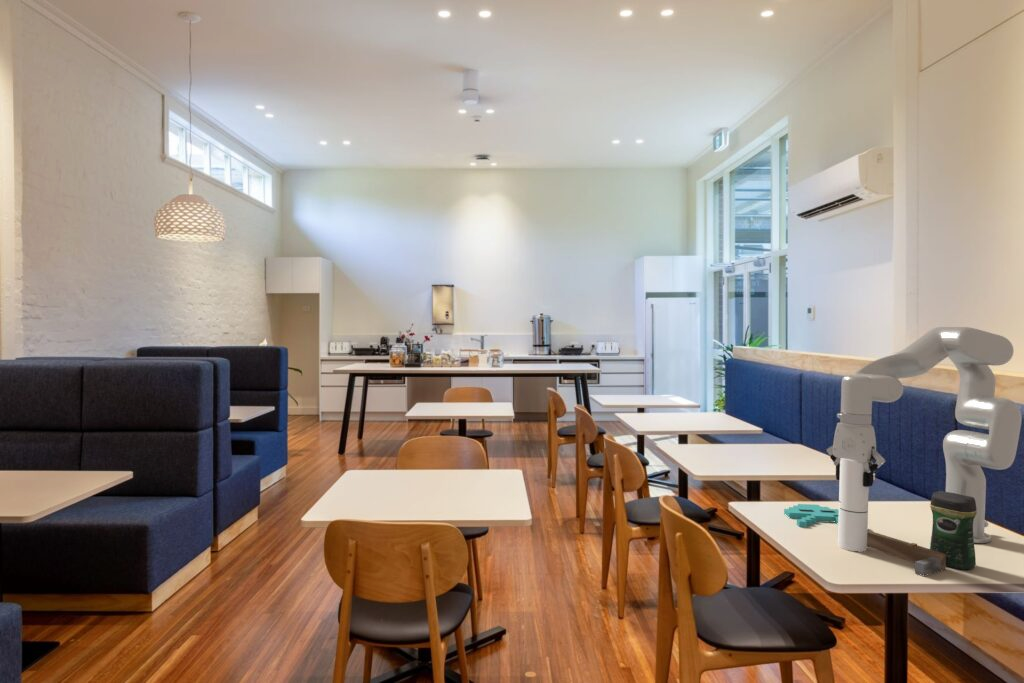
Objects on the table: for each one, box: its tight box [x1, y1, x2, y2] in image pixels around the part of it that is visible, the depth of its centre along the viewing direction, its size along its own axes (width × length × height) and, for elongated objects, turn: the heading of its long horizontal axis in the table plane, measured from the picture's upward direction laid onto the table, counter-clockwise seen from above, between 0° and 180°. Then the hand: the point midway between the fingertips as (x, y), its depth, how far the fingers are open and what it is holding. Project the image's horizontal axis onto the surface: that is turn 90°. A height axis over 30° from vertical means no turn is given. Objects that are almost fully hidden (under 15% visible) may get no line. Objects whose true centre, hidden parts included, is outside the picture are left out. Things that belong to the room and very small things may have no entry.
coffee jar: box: [929, 490, 977, 570], centre depth 158 cm, size 10×8×19 cm
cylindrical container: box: [837, 458, 870, 553], centre depth 168 cm, size 7×7×25 cm
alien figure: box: [783, 503, 869, 529], centre depth 195 cm, size 20×2×20 cm
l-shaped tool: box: [867, 528, 947, 576], centre depth 163 cm, size 10×27×4 cm, turn 28°
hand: (853, 482), depth 168 cm, fingers closed on cylindrical container, 7 cm apart
